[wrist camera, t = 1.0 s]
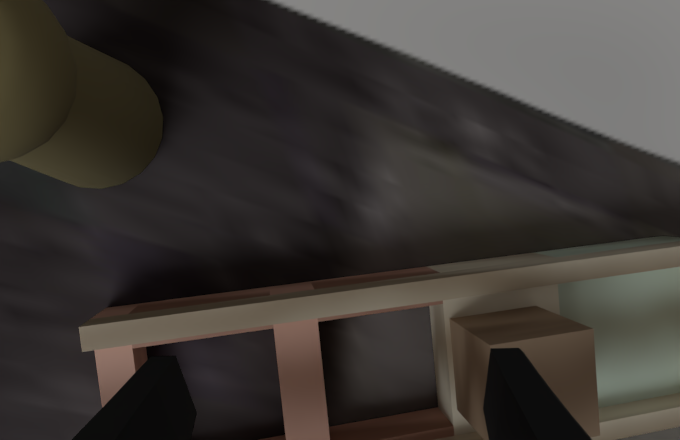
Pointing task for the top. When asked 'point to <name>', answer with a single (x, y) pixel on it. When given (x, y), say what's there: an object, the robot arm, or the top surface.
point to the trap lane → (438, 332)
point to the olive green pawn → (71, 103)
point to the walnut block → (540, 348)
